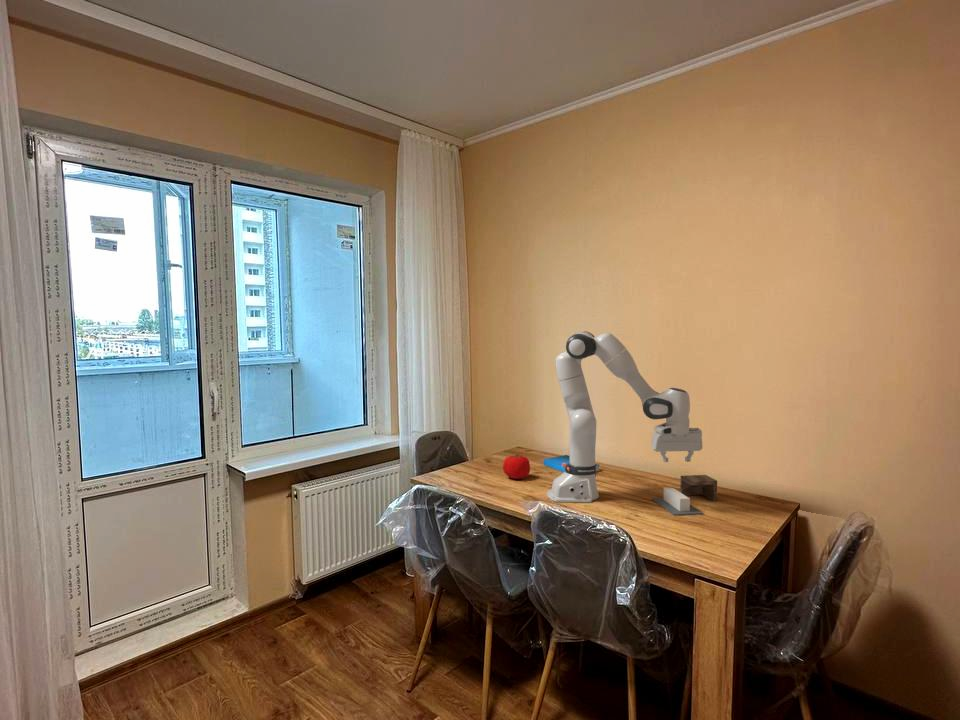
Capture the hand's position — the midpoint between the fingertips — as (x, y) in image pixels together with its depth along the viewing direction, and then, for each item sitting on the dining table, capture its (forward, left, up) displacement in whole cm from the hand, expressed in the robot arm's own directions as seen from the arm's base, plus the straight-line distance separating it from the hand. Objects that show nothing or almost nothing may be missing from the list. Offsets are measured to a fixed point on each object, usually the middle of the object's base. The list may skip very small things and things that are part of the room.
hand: (676, 461), depth 203 cm
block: (0, 0, -18) cm, 18 cm away
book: (-26, +62, -19) cm, 70 cm away
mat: (0, 0, -19) cm, 19 cm away
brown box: (+15, +9, -19) cm, 26 cm away
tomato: (-58, +48, -19) cm, 77 cm away
